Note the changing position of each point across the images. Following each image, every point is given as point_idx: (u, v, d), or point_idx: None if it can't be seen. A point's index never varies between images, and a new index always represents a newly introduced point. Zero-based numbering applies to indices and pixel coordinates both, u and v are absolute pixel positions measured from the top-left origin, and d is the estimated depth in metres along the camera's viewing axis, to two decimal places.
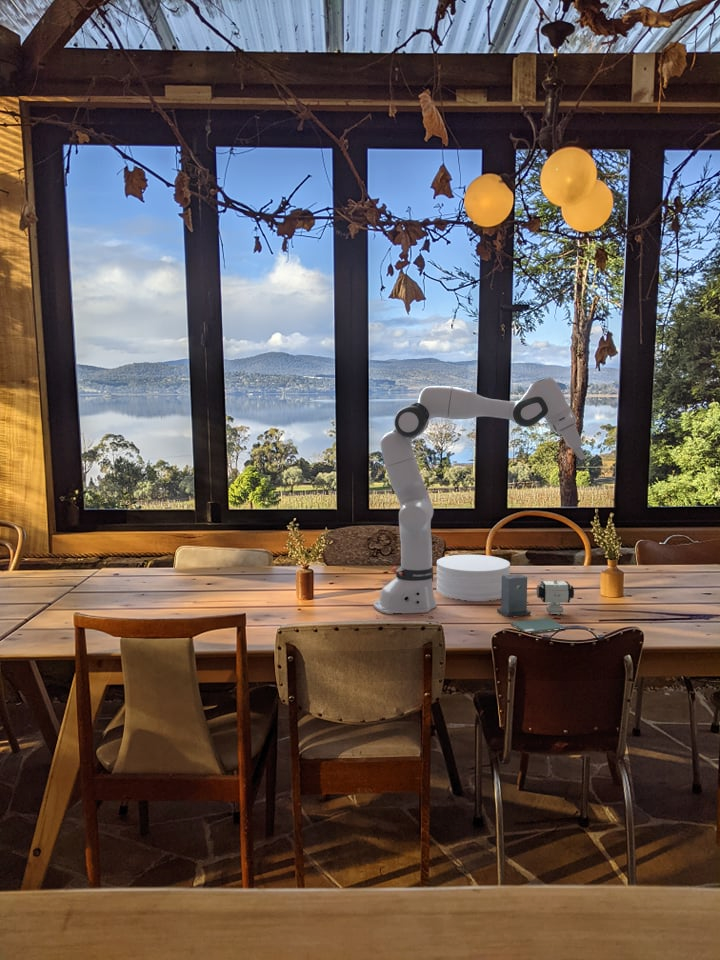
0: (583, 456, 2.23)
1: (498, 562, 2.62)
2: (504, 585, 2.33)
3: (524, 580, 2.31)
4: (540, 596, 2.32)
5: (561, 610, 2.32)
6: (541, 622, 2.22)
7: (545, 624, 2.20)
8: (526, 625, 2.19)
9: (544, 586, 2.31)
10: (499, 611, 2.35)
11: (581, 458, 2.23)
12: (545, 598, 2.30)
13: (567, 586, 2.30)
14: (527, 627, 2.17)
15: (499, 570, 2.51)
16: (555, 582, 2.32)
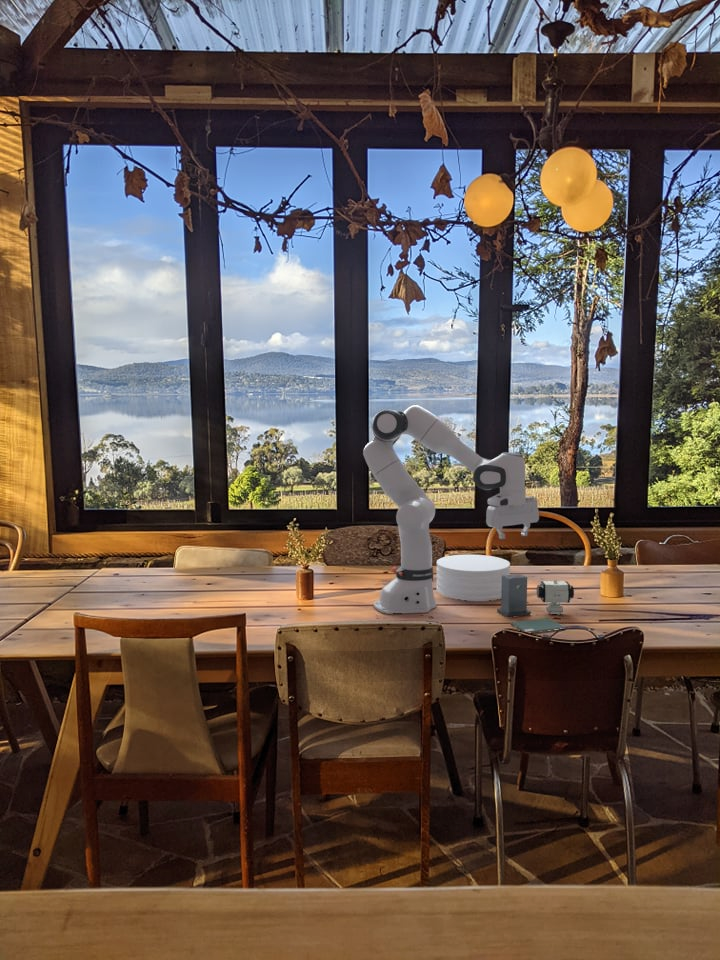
0: (501, 536, 2.38)
1: (498, 562, 2.62)
2: (504, 585, 2.33)
3: (524, 580, 2.31)
4: (540, 596, 2.32)
5: (561, 610, 2.32)
6: (541, 622, 2.22)
7: (545, 624, 2.20)
8: (526, 625, 2.19)
9: (544, 586, 2.31)
10: (499, 611, 2.35)
11: (499, 537, 2.39)
12: (545, 598, 2.30)
13: (567, 586, 2.30)
14: (527, 627, 2.17)
15: (499, 570, 2.51)
16: (555, 582, 2.32)
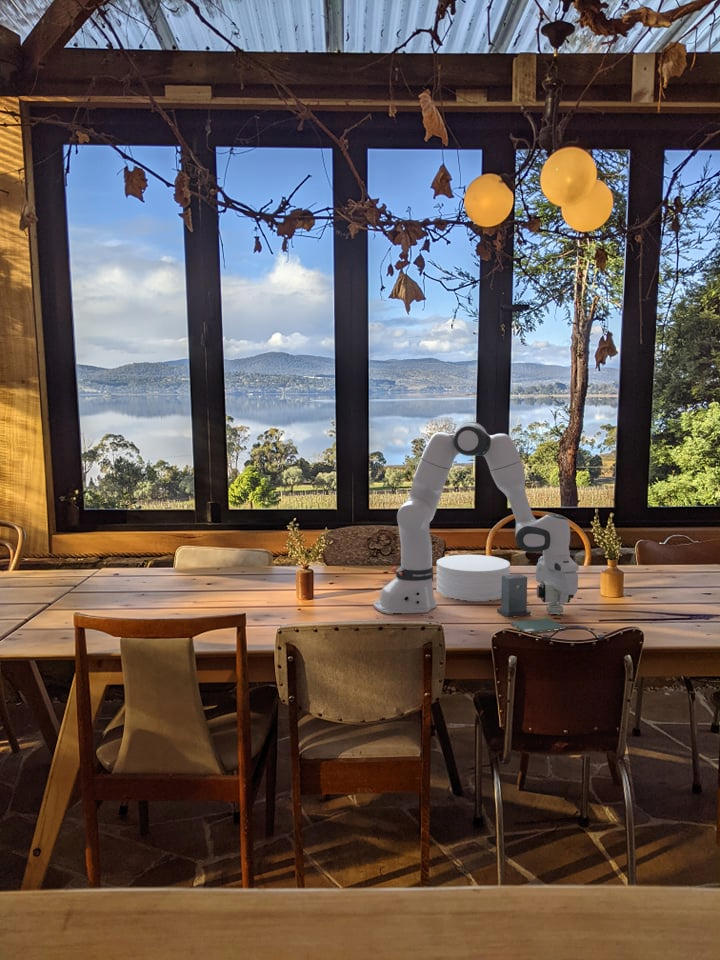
0: (563, 602, 2.29)
1: (498, 562, 2.62)
2: (504, 585, 2.33)
3: (524, 580, 2.31)
4: (540, 596, 2.32)
5: (561, 610, 2.32)
6: (541, 622, 2.22)
7: (545, 624, 2.20)
8: (526, 625, 2.19)
9: (544, 586, 2.30)
10: (499, 611, 2.35)
11: (561, 603, 2.29)
12: (545, 598, 2.30)
13: None
14: (527, 627, 2.17)
15: (499, 570, 2.51)
16: None
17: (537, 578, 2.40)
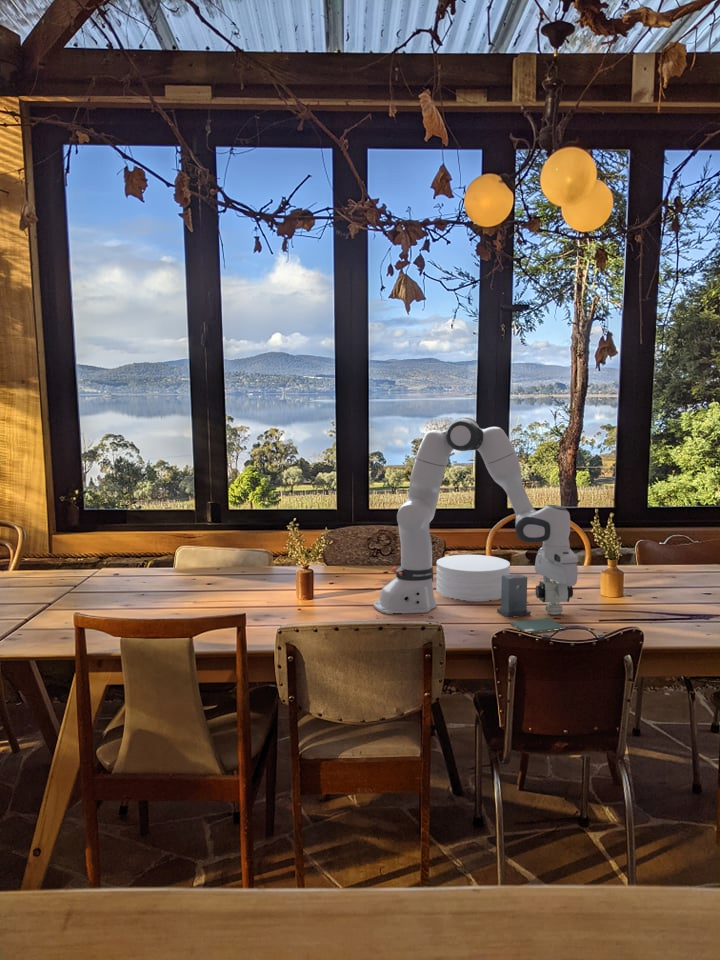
0: (562, 593, 2.29)
1: (498, 562, 2.62)
2: (504, 585, 2.33)
3: (524, 580, 2.31)
4: (540, 596, 2.31)
5: (560, 610, 2.32)
6: (541, 622, 2.22)
7: (545, 624, 2.20)
8: (526, 625, 2.19)
9: (544, 586, 2.30)
10: (499, 611, 2.35)
11: (560, 594, 2.28)
12: (545, 598, 2.30)
13: None
14: (527, 627, 2.17)
15: (499, 570, 2.51)
16: (554, 582, 2.32)
17: (536, 569, 2.39)
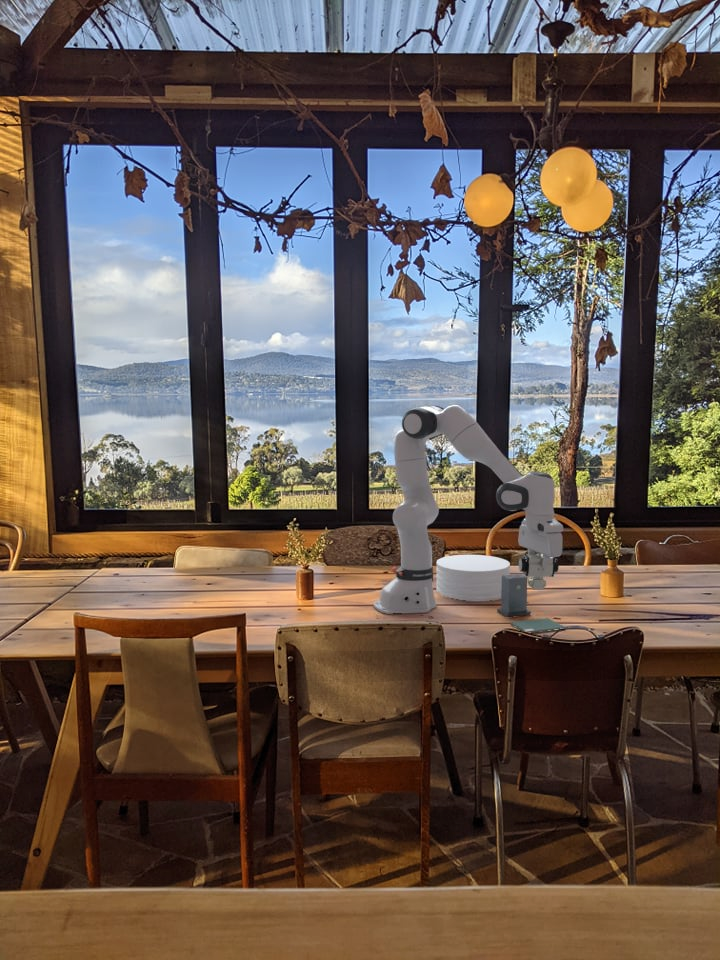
0: (547, 565, 2.14)
1: (498, 562, 2.62)
2: (504, 585, 2.33)
3: (524, 580, 2.31)
4: (523, 570, 2.17)
5: (544, 584, 2.18)
6: (541, 622, 2.22)
7: (545, 624, 2.20)
8: (526, 625, 2.19)
9: (528, 559, 2.15)
10: (499, 611, 2.35)
11: (544, 566, 2.14)
12: (528, 572, 2.16)
13: (552, 559, 2.15)
14: (527, 627, 2.17)
15: (499, 570, 2.51)
16: (539, 555, 2.17)
17: (520, 542, 2.24)
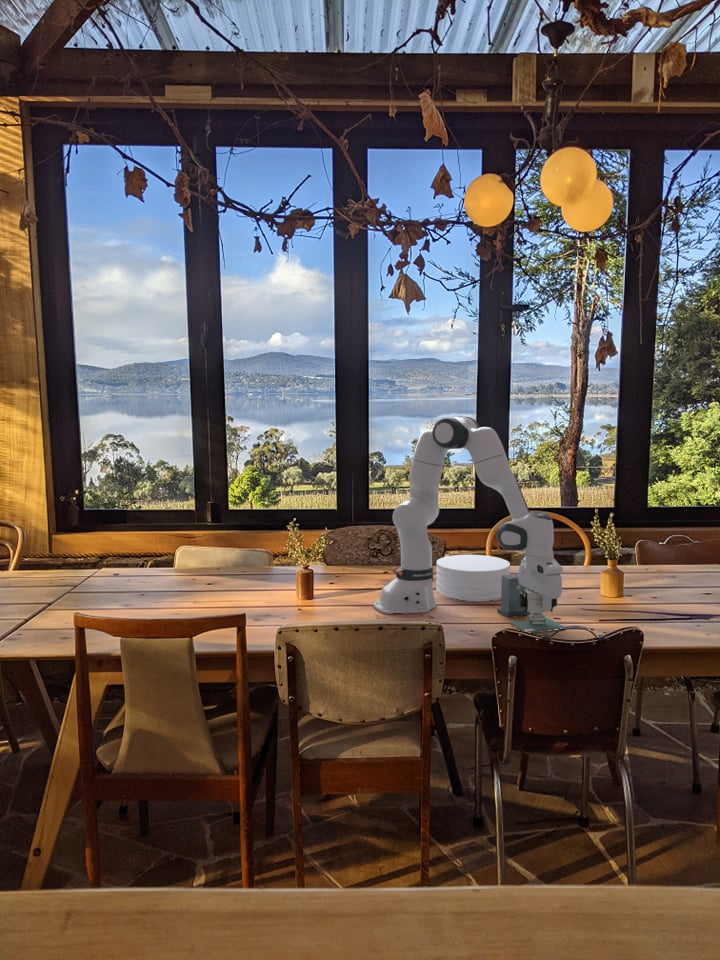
0: (547, 606, 2.15)
1: (498, 562, 2.62)
2: (504, 585, 2.33)
3: None
4: (522, 605, 2.18)
5: (544, 619, 2.20)
6: None
7: (545, 624, 2.20)
8: (526, 625, 2.19)
9: (526, 595, 2.17)
10: (499, 611, 2.35)
11: (544, 607, 2.15)
12: (527, 607, 2.17)
13: None
14: (527, 627, 2.17)
15: (499, 570, 2.51)
16: None
17: (520, 581, 2.26)
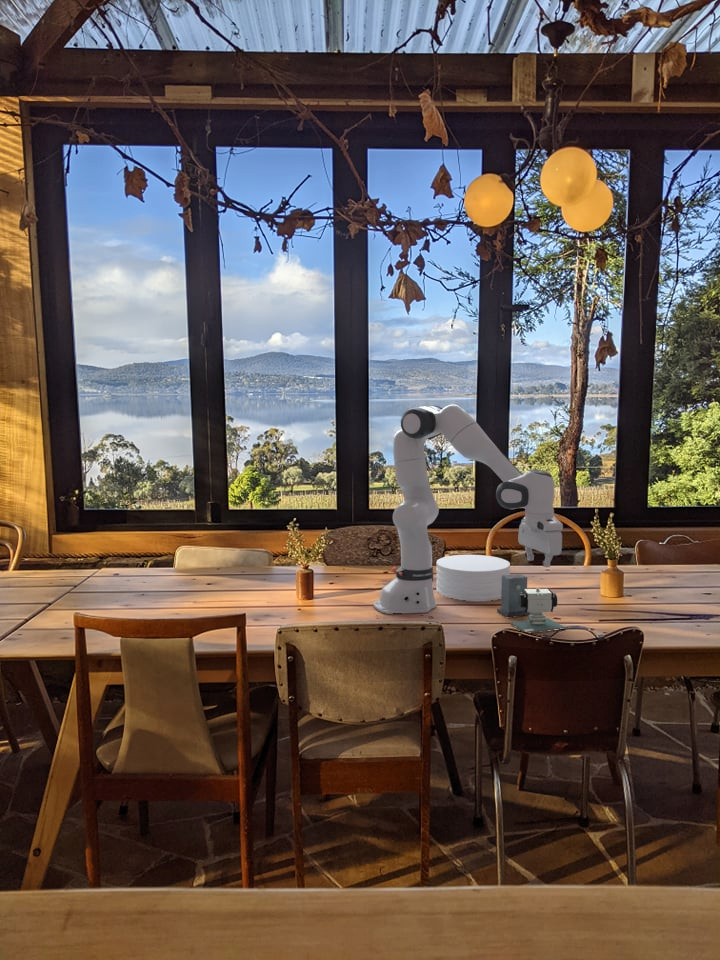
0: (549, 564, 2.13)
1: (498, 562, 2.62)
2: (504, 585, 2.33)
3: (524, 580, 2.31)
4: (522, 606, 2.18)
5: (544, 619, 2.20)
6: None
7: (545, 624, 2.20)
8: (526, 625, 2.19)
9: (526, 595, 2.17)
10: (499, 611, 2.35)
11: (546, 565, 2.13)
12: (527, 608, 2.17)
13: (550, 595, 2.17)
14: (527, 627, 2.17)
15: (499, 570, 2.51)
16: (537, 590, 2.19)
17: (520, 540, 2.25)
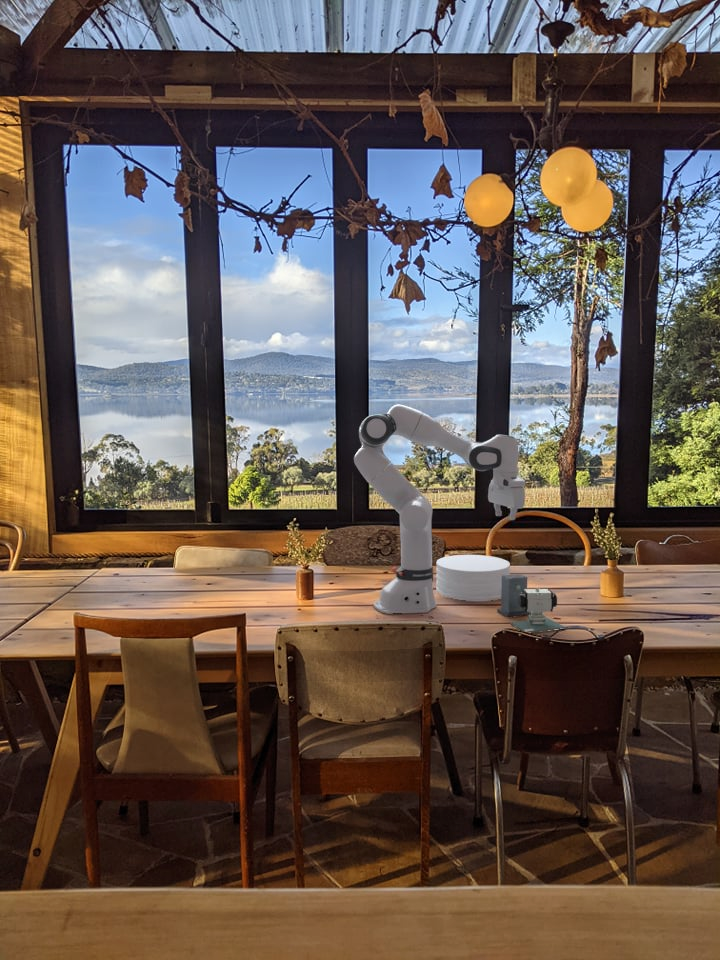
0: (514, 517, 2.40)
1: (498, 562, 2.61)
2: (504, 585, 2.33)
3: (524, 580, 2.31)
4: (522, 605, 2.18)
5: (544, 619, 2.20)
6: None
7: (545, 624, 2.20)
8: (526, 625, 2.19)
9: (526, 595, 2.17)
10: (499, 611, 2.35)
11: (511, 518, 2.40)
12: (527, 607, 2.17)
13: (550, 594, 2.17)
14: (527, 627, 2.17)
15: (499, 570, 2.51)
16: (537, 590, 2.19)
17: (489, 498, 2.52)
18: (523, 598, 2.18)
